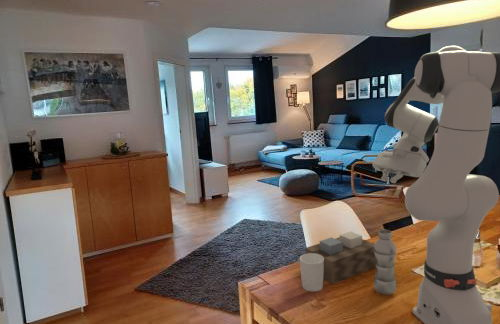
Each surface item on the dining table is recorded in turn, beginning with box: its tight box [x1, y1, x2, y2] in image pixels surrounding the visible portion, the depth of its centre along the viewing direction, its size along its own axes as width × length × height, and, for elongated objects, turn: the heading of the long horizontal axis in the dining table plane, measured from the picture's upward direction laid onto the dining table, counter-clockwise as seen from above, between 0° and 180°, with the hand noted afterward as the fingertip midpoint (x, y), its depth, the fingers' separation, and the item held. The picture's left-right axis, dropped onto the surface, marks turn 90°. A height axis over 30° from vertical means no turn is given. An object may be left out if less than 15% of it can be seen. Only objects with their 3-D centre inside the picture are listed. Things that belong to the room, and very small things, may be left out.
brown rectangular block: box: [305, 236, 376, 285], centre depth 131 cm, size 22×14×8 cm, turn 120°
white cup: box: [299, 253, 324, 292], centre depth 119 cm, size 8×8×10 cm
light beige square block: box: [339, 231, 363, 249], centre depth 132 cm, size 6×6×4 cm
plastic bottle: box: [373, 229, 397, 296], centre depth 112 cm, size 6×7×20 cm
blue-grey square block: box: [319, 237, 343, 255], centre depth 128 cm, size 6×6×4 cm
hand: (387, 181), depth 134 cm, fingers open, 3 cm apart
